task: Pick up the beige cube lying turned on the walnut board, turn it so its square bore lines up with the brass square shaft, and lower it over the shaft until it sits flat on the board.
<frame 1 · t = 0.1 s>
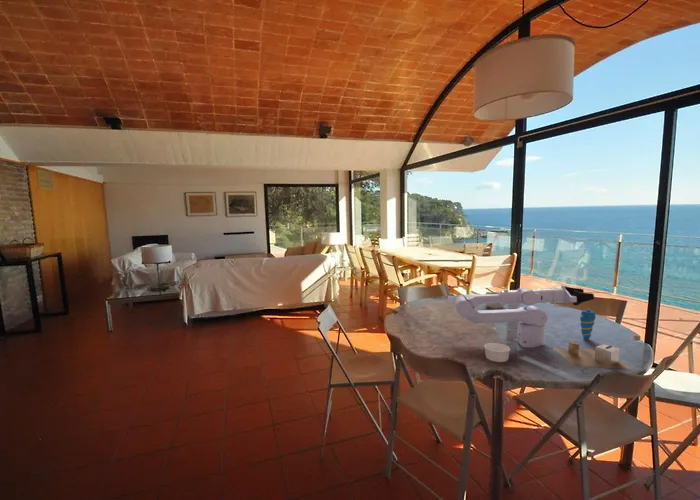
hand: (588, 294, 133), 22 cm above the table, tool horizontal, fingers open, 7 cm apart
ornament: (586, 343, 140), on the table
ramekin: (496, 358, 127), on the table
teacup: (493, 307, 194), on the table
board: (589, 361, 123), on the table
beige cube: (606, 361, 119), point 1 cm above the table, touching board
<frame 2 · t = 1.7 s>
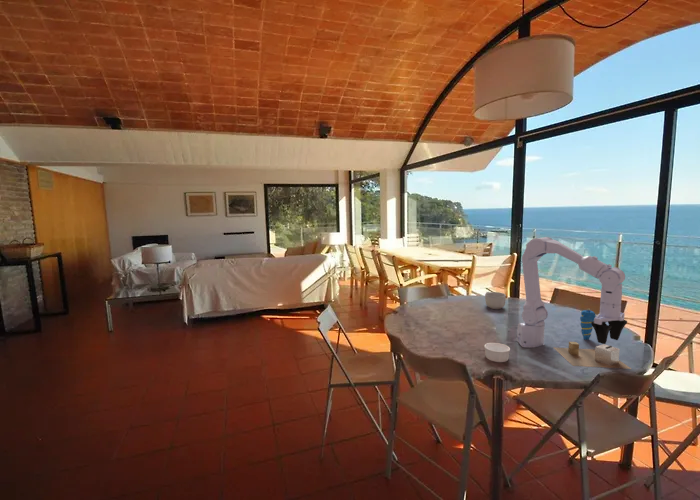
hand: (608, 341, 118), 9 cm above the table, tool pointing down, fingers open, 7 cm apart
nothing on the table moved.
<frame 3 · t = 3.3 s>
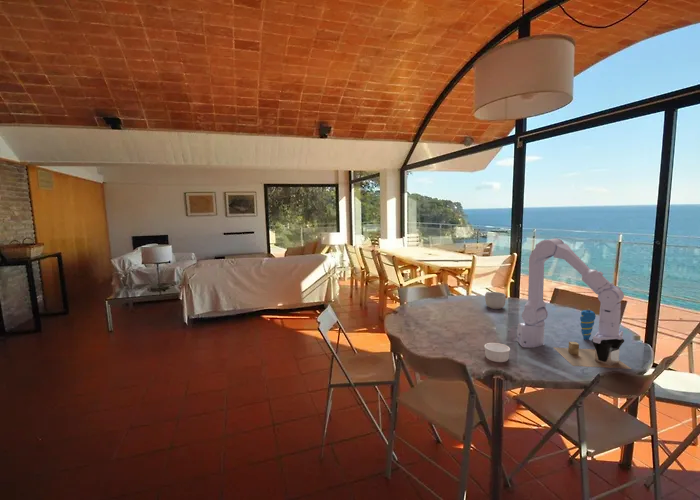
hand: (606, 359, 119), 2 cm above the table, tool pointing down, fingers closed on beige cube, 5 cm apart
beige cube: (606, 361, 119), point 1 cm above the table, touching board, gripper
everything else where it was.
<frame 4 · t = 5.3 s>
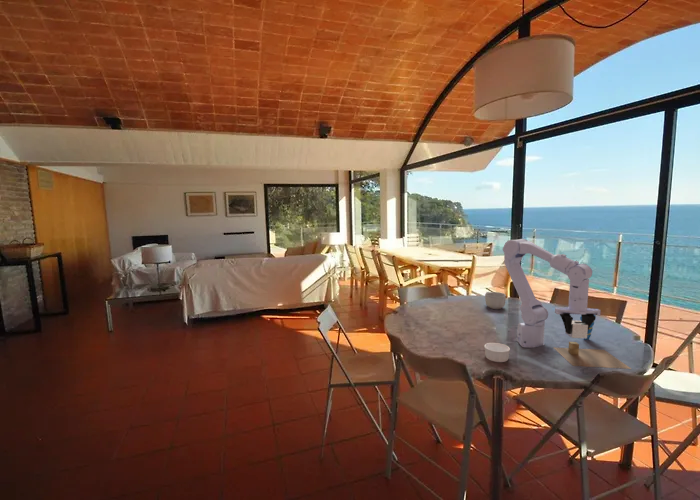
hand: (576, 333, 125), 9 cm above the table, tool pointing down, fingers closed on beige cube, 5 cm apart
beige cube: (575, 335, 125), point 8 cm above the table, touching gripper
everything else where it was.
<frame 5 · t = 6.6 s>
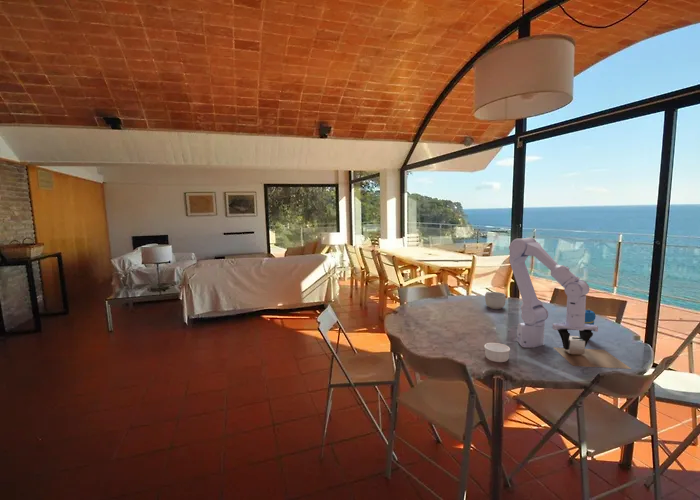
hand: (573, 348, 126), 3 cm above the table, tool pointing down, fingers closed on beige cube, 5 cm apart
beige cube: (573, 351, 126), point 2 cm above the table, touching gripper
everything else where it was.
when the fingers open (3 cm above the table, at t = 7.6 s): beige cube stays where it is, resting on board.
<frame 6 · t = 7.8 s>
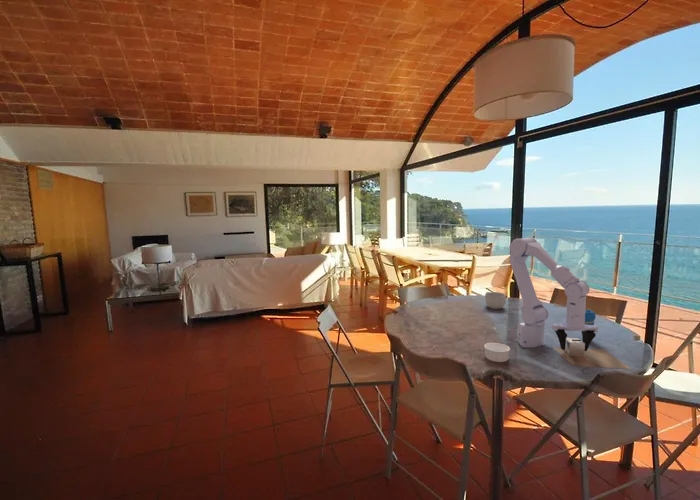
hand: (573, 349, 126), 3 cm above the table, tool pointing down, fingers open, 7 cm apart
beige cube: (573, 353, 126), point 1 cm above the table, touching board
everything else where it was.
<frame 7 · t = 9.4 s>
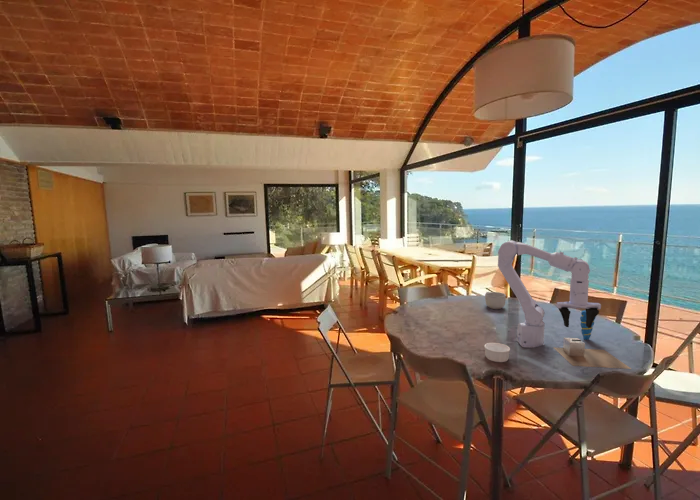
hand: (577, 326, 130), 10 cm above the table, tool pointing down, fingers open, 7 cm apart
nothing on the table moved.
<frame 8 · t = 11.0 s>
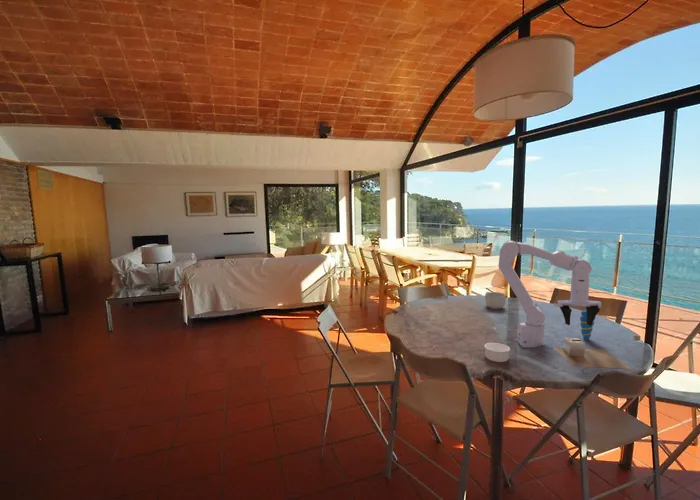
hand: (578, 324, 131), 10 cm above the table, tool pointing down, fingers open, 7 cm apart
nothing on the table moved.
at the end: beige cube 0.0 cm from the target spot on the board, point 1.5 cm above the board's base; beige cube tilted 0°; the gripper is holding nothing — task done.
